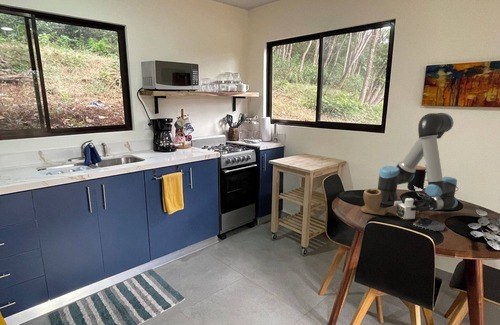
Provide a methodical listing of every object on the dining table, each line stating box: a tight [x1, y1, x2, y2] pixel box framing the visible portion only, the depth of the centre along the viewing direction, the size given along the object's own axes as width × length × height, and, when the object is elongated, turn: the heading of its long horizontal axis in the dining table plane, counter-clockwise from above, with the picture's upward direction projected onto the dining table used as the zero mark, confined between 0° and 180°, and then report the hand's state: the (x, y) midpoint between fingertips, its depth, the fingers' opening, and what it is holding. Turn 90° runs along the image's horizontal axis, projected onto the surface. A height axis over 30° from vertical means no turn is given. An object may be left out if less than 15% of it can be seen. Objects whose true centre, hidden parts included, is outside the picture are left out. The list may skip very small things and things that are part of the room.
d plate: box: [413, 216, 446, 232], centre depth 158 cm, size 13×13×2 cm
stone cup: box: [360, 188, 389, 216], centre depth 174 cm, size 15×12×15 cm
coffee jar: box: [406, 165, 427, 192], centre depth 218 cm, size 11×11×18 cm
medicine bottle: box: [395, 196, 417, 220], centre depth 169 cm, size 7×7×12 cm
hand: (399, 206), depth 168 cm, fingers closed on medicine bottle, 8 cm apart
